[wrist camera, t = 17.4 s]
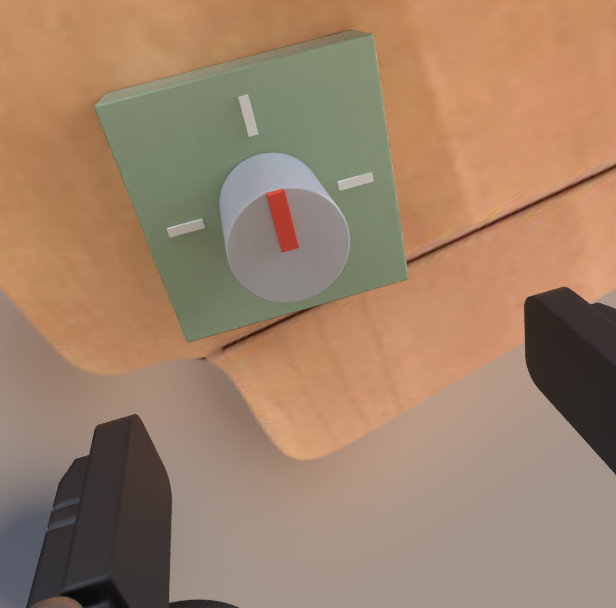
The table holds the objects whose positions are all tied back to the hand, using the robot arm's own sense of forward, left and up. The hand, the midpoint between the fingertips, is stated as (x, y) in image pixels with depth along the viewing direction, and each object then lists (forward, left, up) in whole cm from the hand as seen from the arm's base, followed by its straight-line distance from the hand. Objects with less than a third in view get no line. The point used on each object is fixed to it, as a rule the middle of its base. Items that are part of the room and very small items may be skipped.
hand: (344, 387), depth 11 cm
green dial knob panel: (0, 0, -15) cm, 15 cm away
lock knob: (0, 0, -12) cm, 12 cm away
